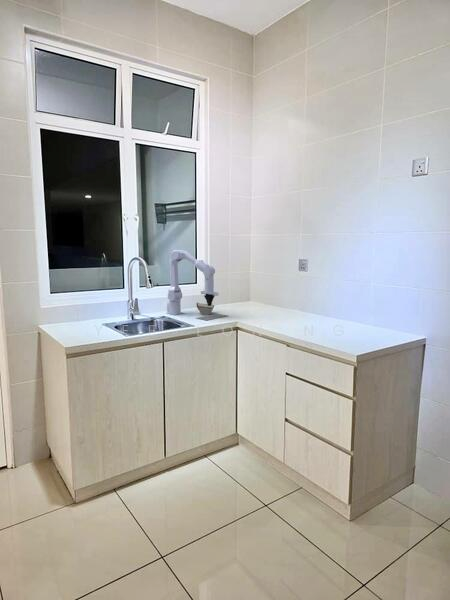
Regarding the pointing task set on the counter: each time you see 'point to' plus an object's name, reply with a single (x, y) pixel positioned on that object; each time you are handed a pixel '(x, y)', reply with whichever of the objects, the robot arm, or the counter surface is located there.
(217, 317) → the mat
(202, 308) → the food container
